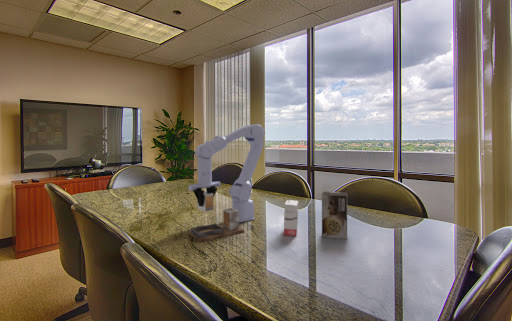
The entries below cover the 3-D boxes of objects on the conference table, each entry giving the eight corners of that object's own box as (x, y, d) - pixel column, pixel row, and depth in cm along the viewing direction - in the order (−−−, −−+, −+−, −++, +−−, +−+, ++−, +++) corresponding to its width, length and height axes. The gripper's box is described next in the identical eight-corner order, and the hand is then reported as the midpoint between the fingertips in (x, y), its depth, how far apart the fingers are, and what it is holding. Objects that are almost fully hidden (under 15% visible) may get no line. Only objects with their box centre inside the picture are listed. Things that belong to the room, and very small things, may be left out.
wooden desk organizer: (231, 224, 115) (230, 206, 115) (244, 232, 106) (243, 212, 106) (188, 233, 105) (188, 213, 105) (199, 242, 96) (198, 220, 96)
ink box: (297, 236, 101) (297, 205, 100) (283, 235, 102) (283, 204, 101) (298, 229, 109) (298, 200, 109) (285, 228, 110) (285, 199, 110)
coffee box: (347, 233, 103) (347, 192, 102) (347, 239, 97) (347, 195, 96) (322, 231, 106) (323, 190, 105) (321, 237, 100) (321, 194, 99)
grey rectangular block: (205, 207, 117) (205, 191, 117) (214, 209, 113) (213, 193, 112) (197, 208, 114) (197, 192, 114) (205, 211, 110) (205, 194, 109)
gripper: (213, 170, 120) (214, 200, 121) (184, 173, 110) (185, 206, 111) (223, 172, 115) (223, 203, 116) (193, 175, 105) (194, 209, 106)
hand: (205, 205), depth 113 cm, fingers closed on grey rectangular block, 4 cm apart
